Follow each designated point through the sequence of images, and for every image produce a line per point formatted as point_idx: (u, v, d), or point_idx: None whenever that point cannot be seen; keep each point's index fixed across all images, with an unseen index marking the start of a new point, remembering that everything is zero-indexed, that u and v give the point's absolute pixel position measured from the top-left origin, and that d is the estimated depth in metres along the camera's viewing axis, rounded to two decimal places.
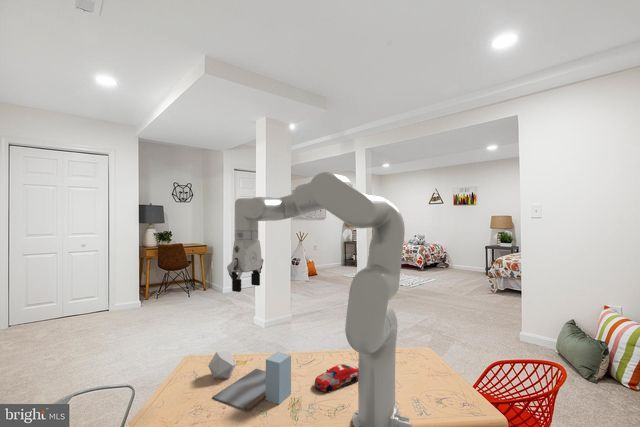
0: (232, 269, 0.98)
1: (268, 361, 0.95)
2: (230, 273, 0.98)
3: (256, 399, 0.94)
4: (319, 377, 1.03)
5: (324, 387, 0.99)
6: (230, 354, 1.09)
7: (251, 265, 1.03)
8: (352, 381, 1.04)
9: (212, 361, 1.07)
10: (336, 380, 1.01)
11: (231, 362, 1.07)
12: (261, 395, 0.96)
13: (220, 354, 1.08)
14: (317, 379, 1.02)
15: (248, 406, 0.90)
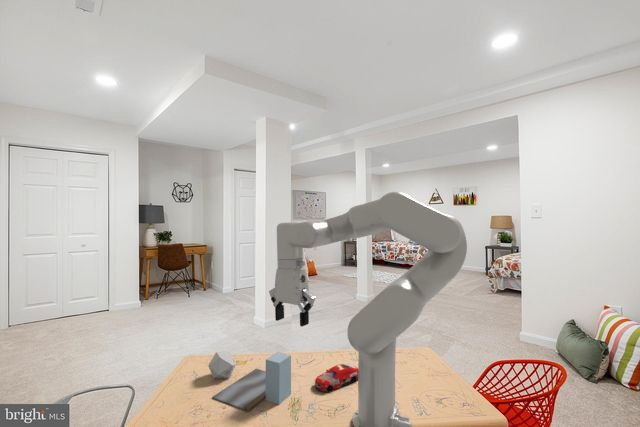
0: None
1: (268, 361, 0.95)
2: (311, 305, 0.90)
3: (256, 399, 0.94)
4: (319, 377, 1.02)
5: (325, 387, 0.99)
6: (230, 354, 1.09)
7: None
8: (352, 381, 1.05)
9: (212, 361, 1.07)
10: (336, 380, 1.01)
11: (231, 362, 1.07)
12: (261, 395, 0.96)
13: (220, 354, 1.08)
14: (317, 379, 1.02)
15: (248, 406, 0.90)
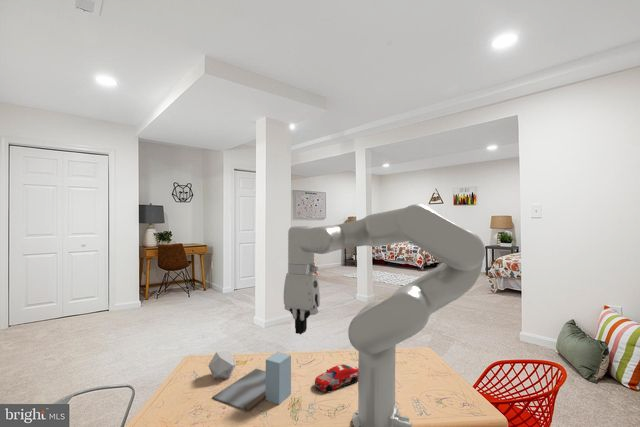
0: None
1: (268, 361, 0.95)
2: None
3: (256, 399, 0.94)
4: (319, 377, 1.03)
5: (324, 387, 0.99)
6: (230, 354, 1.09)
7: None
8: (352, 381, 1.04)
9: (212, 361, 1.07)
10: (336, 380, 1.01)
11: (231, 362, 1.07)
12: (261, 395, 0.96)
13: (220, 354, 1.08)
14: (317, 378, 1.02)
15: (248, 406, 0.90)
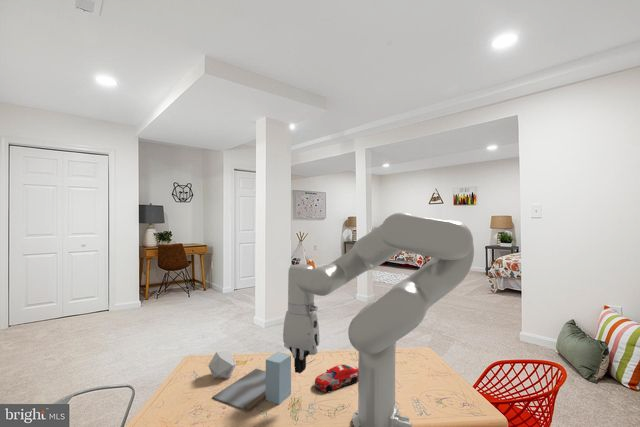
0: None
1: (268, 361, 0.95)
2: None
3: (256, 399, 0.94)
4: (319, 377, 1.03)
5: (324, 387, 0.99)
6: (230, 354, 1.09)
7: None
8: (352, 381, 1.04)
9: (212, 361, 1.07)
10: (336, 380, 1.01)
11: (231, 362, 1.07)
12: (261, 395, 0.96)
13: (220, 354, 1.08)
14: (317, 379, 1.02)
15: (248, 406, 0.90)
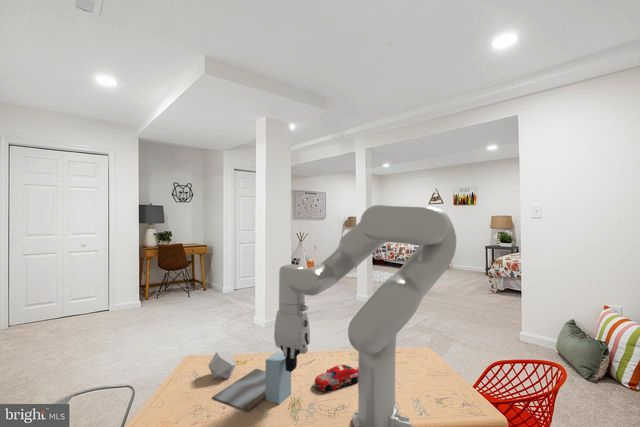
0: None
1: (268, 361, 0.95)
2: None
3: (256, 399, 0.94)
4: (319, 377, 1.03)
5: (323, 387, 0.99)
6: (230, 354, 1.09)
7: None
8: (352, 382, 1.04)
9: (212, 361, 1.07)
10: (335, 380, 1.01)
11: (231, 362, 1.07)
12: (261, 395, 0.96)
13: (220, 354, 1.08)
14: (316, 378, 1.02)
15: (248, 406, 0.90)
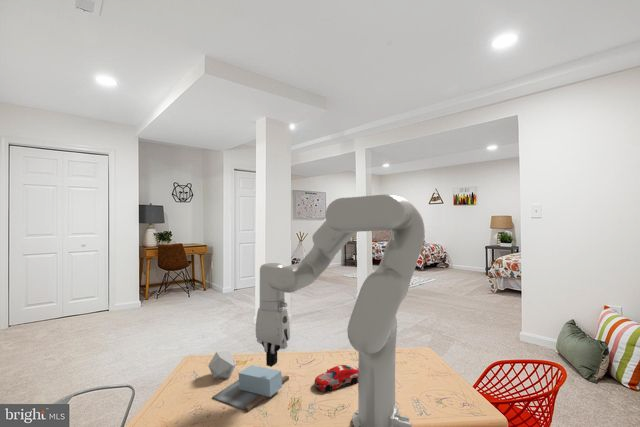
0: None
1: (240, 386, 1.00)
2: None
3: (256, 399, 0.94)
4: (319, 377, 1.03)
5: (323, 387, 0.99)
6: (230, 354, 1.09)
7: None
8: (352, 382, 1.04)
9: (212, 361, 1.07)
10: (335, 380, 1.01)
11: (231, 362, 1.07)
12: (261, 395, 0.96)
13: (220, 354, 1.08)
14: (316, 378, 1.02)
15: (248, 406, 0.90)
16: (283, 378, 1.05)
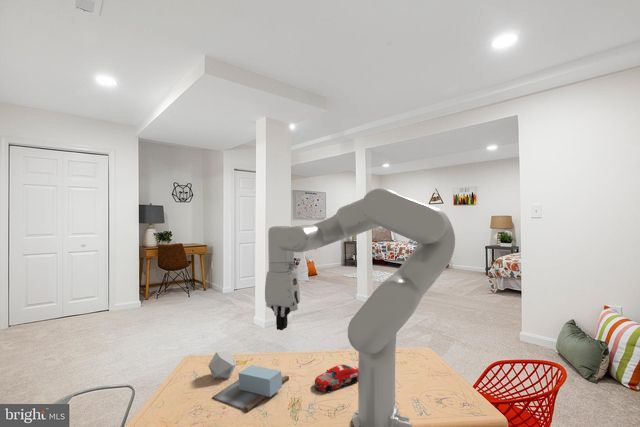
0: None
1: (240, 386, 1.00)
2: None
3: (256, 399, 0.94)
4: (319, 377, 1.03)
5: (323, 387, 0.99)
6: (230, 354, 1.09)
7: None
8: (352, 381, 1.04)
9: (212, 361, 1.07)
10: (336, 380, 1.01)
11: (231, 362, 1.07)
12: (261, 395, 0.96)
13: (220, 354, 1.08)
14: (316, 379, 1.02)
15: (248, 406, 0.90)
16: (283, 378, 1.05)
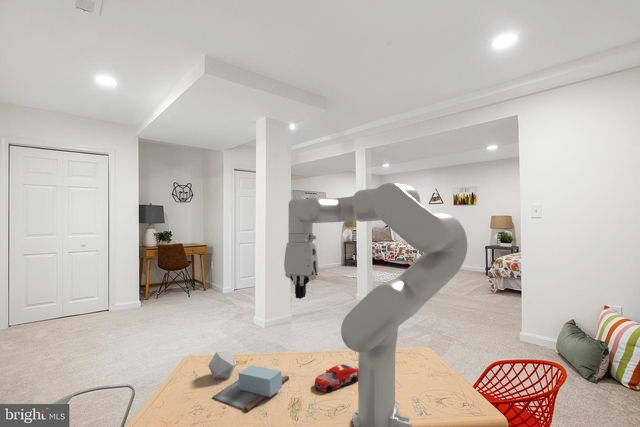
0: None
1: (240, 386, 1.00)
2: None
3: (256, 399, 0.94)
4: (319, 377, 1.02)
5: (324, 387, 0.99)
6: (230, 354, 1.09)
7: None
8: (352, 381, 1.04)
9: (212, 361, 1.07)
10: (336, 380, 1.01)
11: (231, 362, 1.07)
12: (261, 395, 0.96)
13: (220, 354, 1.08)
14: (317, 379, 1.02)
15: (248, 406, 0.90)
16: (283, 378, 1.05)
